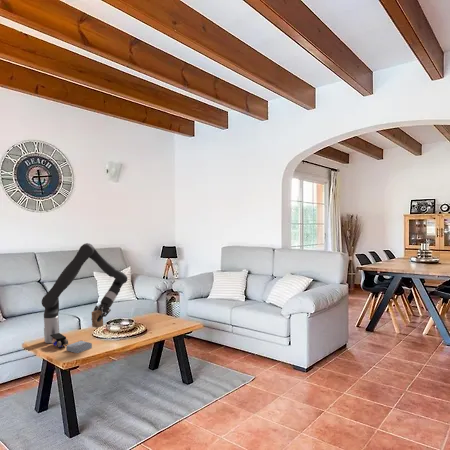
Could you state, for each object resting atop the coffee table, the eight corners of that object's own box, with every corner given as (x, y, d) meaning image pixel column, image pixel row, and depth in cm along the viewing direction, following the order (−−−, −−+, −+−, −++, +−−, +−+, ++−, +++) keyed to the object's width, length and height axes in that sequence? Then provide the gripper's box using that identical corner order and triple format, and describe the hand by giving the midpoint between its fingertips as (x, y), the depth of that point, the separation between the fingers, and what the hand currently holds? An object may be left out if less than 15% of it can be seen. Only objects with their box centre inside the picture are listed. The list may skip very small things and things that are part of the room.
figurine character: (69, 349, 251) (59, 342, 261) (69, 338, 250) (59, 331, 260) (58, 352, 246) (49, 344, 256) (58, 341, 245) (49, 333, 255)
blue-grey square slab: (66, 350, 245) (66, 345, 245) (81, 345, 254) (81, 340, 254) (77, 353, 239) (76, 348, 239) (91, 347, 248) (91, 343, 248)
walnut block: (92, 326, 254) (91, 311, 254) (98, 324, 259) (97, 310, 258) (97, 327, 252) (96, 312, 251) (103, 325, 256) (102, 310, 255)
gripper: (98, 295, 265) (84, 316, 255) (112, 297, 257) (98, 319, 247) (105, 301, 269) (91, 322, 260) (119, 303, 261) (105, 325, 252)
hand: (95, 320), depth 253 cm, fingers closed on walnut block, 5 cm apart
